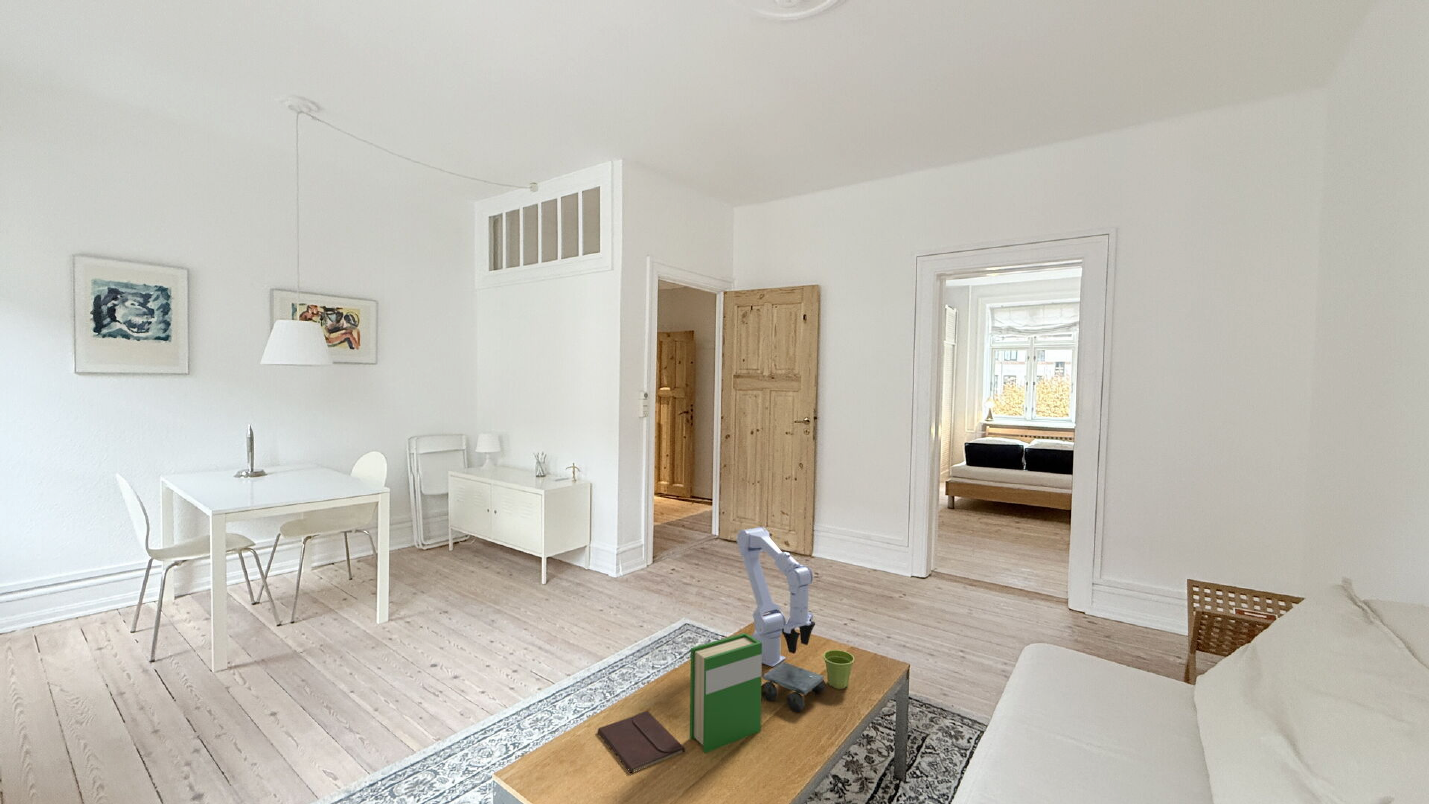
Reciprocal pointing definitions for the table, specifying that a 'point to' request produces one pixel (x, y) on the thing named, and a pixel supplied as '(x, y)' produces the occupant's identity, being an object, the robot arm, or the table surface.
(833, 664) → the plant pot
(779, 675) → the trolley
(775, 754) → the table surface
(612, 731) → the notebook
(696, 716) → the hardback book
